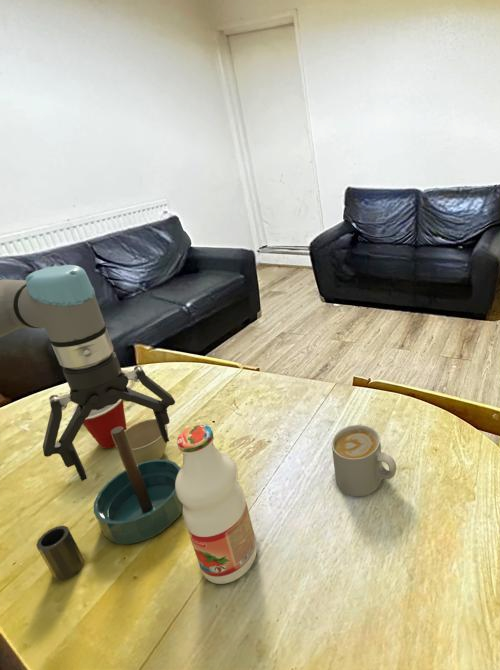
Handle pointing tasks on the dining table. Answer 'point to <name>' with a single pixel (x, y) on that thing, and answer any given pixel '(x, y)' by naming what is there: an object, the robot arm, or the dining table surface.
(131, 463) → the stick
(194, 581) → the dining table surface
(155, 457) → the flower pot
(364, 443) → the coffee mug
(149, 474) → the bowl
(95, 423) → the plastic cup
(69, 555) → the utensil pot
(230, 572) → the fruit juice
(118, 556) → the dining table surface
